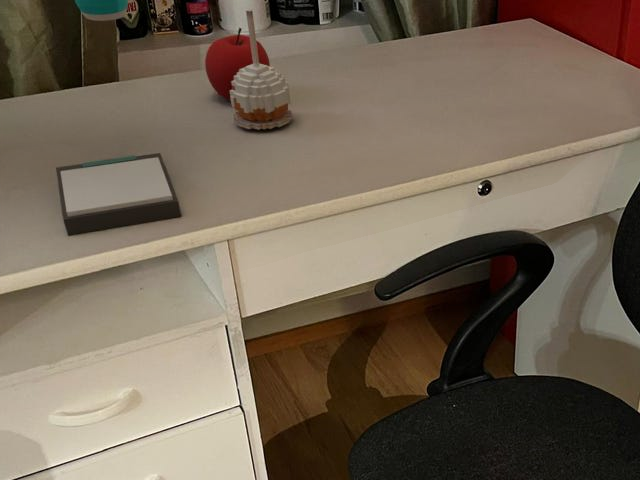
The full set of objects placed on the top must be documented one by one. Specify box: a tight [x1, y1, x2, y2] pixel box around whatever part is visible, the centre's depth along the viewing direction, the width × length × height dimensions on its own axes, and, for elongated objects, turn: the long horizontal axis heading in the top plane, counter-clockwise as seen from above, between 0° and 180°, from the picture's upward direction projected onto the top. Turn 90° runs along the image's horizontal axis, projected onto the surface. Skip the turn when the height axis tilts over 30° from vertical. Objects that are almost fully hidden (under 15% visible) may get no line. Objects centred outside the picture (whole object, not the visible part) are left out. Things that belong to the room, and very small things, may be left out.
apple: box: [204, 26, 271, 101], centre depth 125 cm, size 9×9×10 cm
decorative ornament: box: [230, 9, 293, 131], centre depth 116 cm, size 8×8×15 cm
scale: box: [55, 152, 182, 236], centre depth 100 cm, size 14×12×3 cm
